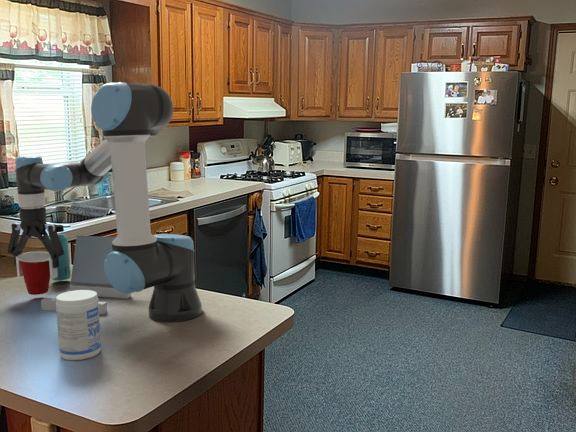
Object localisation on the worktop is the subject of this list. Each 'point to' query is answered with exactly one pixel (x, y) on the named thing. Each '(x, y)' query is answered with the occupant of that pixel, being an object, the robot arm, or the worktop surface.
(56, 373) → the worktop surface
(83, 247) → the door
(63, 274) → the beverage bottle
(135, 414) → the worktop surface
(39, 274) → the plastic cup
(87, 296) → the supplement tub
